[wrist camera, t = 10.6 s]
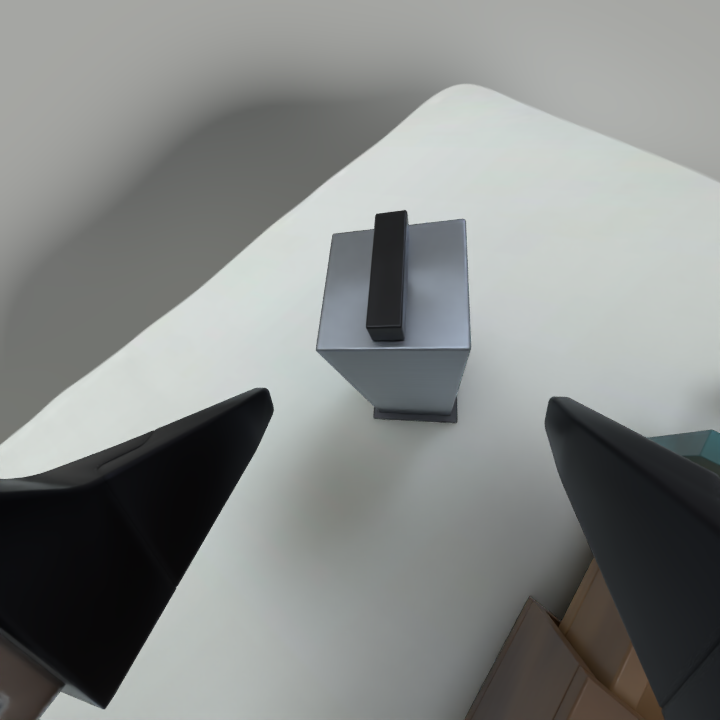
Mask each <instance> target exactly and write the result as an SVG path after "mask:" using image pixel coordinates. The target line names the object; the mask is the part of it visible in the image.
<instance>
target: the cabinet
mask: <svg viewBox="0 0 720 720" xmlns="http://www.w3.org/2000/svg"><path fill="white" fill-rule="evenodd" d="M560 623H561V620H560V619H558V618H557V617H556V616H554V615H553V614H552V613H551V612H549V611H548V610H547V609H546V608H544V607H543V606H542V605H541V604H539V603H538V602H537V601H536V600H534V599H533V598H532V597H529V598H528V600H527V602H526V604H525V606H524V608H523V610H522V612H521V613H520V615H519V617H518V619H517V621H516V623H515V625H514V627H513V629H512V631H511V632H510V634H509V636H508V638H507V640H506V642H505V644H504V646H503V648H502V649H501V651H500V653H499V655H498V657H497V659H496V661H495V663H494V665H493V667H492V668H491V670H490V672H489V674H488V676H487V678H486V680H485V682H484V684H483V686H482V687H481V689H480V691H479V693H478V695H477V697H476V699H475V701H474V703H473V704H472V706H471V708H470V710H469V712H468V714H467V716H466V718H465V720H645V719H644V718H643V717H641V716H640V715H639V714H638V713H637V712H635V711H634V710H633V709H632V708H631V707H629V706H628V705H627V704H626V703H625V702H623V701H622V700H621V699H620V698H619V697H617V696H616V695H615V694H614V693H613V692H611V691H610V690H609V689H608V688H607V687H605V686H604V685H603V684H602V683H601V682H599V681H598V680H597V678H596V677H595V676H594V674H593V673H592V672H591V670H590V669H589V668H588V666H587V665H586V664H585V662H584V661H583V660H582V658H581V657H580V656H579V655H578V653H577V652H576V651H575V649H574V648H573V647H572V645H571V644H570V643H569V641H568V640H567V639H566V637H565V636H564V635H563V633H562V632H561V631H560V629H559V628H558V627H559V625H560Z"/></svg>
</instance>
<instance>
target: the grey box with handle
mask: <svg viewBox="0 0 720 720" xmlns="http://www.w3.org/2000/svg"><path fill="white" fill-rule="evenodd" d="M470 350H471V331H470V307H469V283H468V259H467V235H466V221H465V219H457V220H448V221H439V222H431V223H422V224H414V225H409V224H408V215H407V211H406V210H403V211H395V212H387V213H380V214H376V216H375V226H374V229H370V230H362V231H353V232H345V233H336V234H333V235H332V242H331V249H330V255H329V262H328V269H327V276H326V283H325V290H324V297H323V304H322V311H321V317H320V324H319V331H318V338H317V345H316V351H317V352H318V353H319V354H320V355H321V356H322V357H323V358H324V359H325V360H326V361H327V362H328V363H329V364H330V365H331V366H332V367H333V368H335V369H336V370H337V371H338V372H339V373H340V374H341V375H342V376H343V377H344V378H345V379H346V380H347V381H348V382H349V383H350V384H351V385H352V386H353V387H354V388H355V389H356V390H358V391H359V392H360V393H361V394H362V395H363V396H364V397H365V398H366V399H367V400H368V401H369V402H370V403H371V404H372V405H373V406H374V419H389V420H407V421H425V422H444V423H457V392H458V389H459V386H460V382H461V379H462V376H463V373H464V370H465V366H466V363H467V360H468V357H469V353H470Z"/></svg>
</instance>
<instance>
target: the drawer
mask: <svg viewBox="0 0 720 720" xmlns="http://www.w3.org/2000/svg"><path fill="white" fill-rule="evenodd" d="M648 439H650V440H652V441H654V442H656V443H658V444H660V445H661V446H663V447H665V448H667V449H669V450H671V451H673V452H675V453H677V454H679V455H681V456H683V457H685V458H687V459H689V460H691V461H692V462H694V463H696V464H698V465H700V466H702V467H704V468H706V469H708V470H710V471H712V472H714V473H716V474H717V475H718V476H719V478H720V433H718V432H716V431H714V430H706V431H698V432H690V433H682V434H674V435H666V436H658V437H650V438H648ZM558 628H559V629H560V631H561V632H562V633H563V635H564V636H565V637H566V639H567V640H568V641H569V643H570V644H571V645H572V647H573V648H574V649H575V651H576V652H577V653H578V655H579V656H580V657H581V658H582V660H583V661H584V662H585V664H586V665H587V666H588V668H589V669H590V670H591V672H592V673H593V674H594V676H595V677H596V678H597V680H598V681H599V682H601V683H602V684H603V685H604V686H605V687H607V688H608V689H609V690H610V691H611V692H613V693H614V694H615V695H616V696H617V697H619V698H620V699H621V700H622V701H623V702H625V703H626V704H627V705H628V706H629V707H631V708H632V709H633V710H634V711H635V712H637V713H638V714H639V715H640V716H641V717H643V718H644V719H645V720H665V719H664V717H663V714H662V712H661V710H662V708H661V707H660V706H659V704H658V702H657V700H656V697H655V695H654V693H653V691H652V688H651V686H650V684H649V681H648V679H647V677H646V674H645V672H644V670H643V668H642V665H641V663H640V661H639V658H638V656H637V654H636V651H635V649H634V647H633V645H632V642H631V640H630V638H629V635H628V633H627V631H626V629H625V626H624V624H623V622H622V619H621V617H620V615H619V612H618V610H617V608H616V606H615V603H614V601H613V599H612V596H611V594H610V592H609V589H608V587H607V585H606V583H605V580H604V578H603V576H602V573H601V571H600V569H599V567H598V564H597V562H596V560H595V557H594V558H593V560H592V562H591V564H590V566H589V568H588V569H587V571H586V573H585V575H584V577H583V579H582V581H581V583H580V585H579V587H578V589H577V591H576V593H575V595H574V597H573V599H572V601H571V603H570V605H569V607H568V609H567V611H566V613H565V615H564V617H563V619H562V621H561V623H560V625H559V627H558Z"/></svg>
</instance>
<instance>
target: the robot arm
mask: <svg viewBox="0 0 720 720" xmlns="http://www.w3.org/2000/svg"><path fill="white" fill-rule="evenodd" d="M273 412H274V407H273V403H272V400H271V396H270V393H269V390H268V389H266V388H254V389H252V390H250V391H247V392H245V393H242V394H240V395H238V396H235V397H233V398H230V399H228V400H225V401H223V402H221V403H218V404H216V405H213V406H211V407H209V408H206V409H204V410H201V411H199V412H197V413H194V414H192V415H189V416H187V417H185V418H182V419H180V420H177V421H175V422H173V423H170V424H168V425H165V426H163V427H161V428H158V429H156V430H155V431H151V432H148V433H146V434H144V435H141V436H139V437H136V438H134V439H131V440H129V441H126V442H124V443H121V444H119V445H116V446H114V447H111V448H108V449H106V450H103V451H101V452H98V453H95V454H92V455H90V456H87V457H84V458H82V459H79V460H76V461H74V462H71V463H68V464H66V465H63V466H60V467H58V468H55V469H52V470H50V471H47V472H44V473H41V474H37V475H33V476H28V477H23V478H14V479H0V720H39V718H40V717H41V716H42V714H43V713H44V712H45V711H46V709H47V708H48V707H49V706H50V704H51V703H52V702H53V701H54V699H55V698H56V697H57V695H58V694H59V693H60V692H63V693H65V694H68V695H70V696H73V697H75V698H77V699H80V700H82V701H85V702H87V703H89V704H92V705H94V706H96V707H99V708H101V709H105V708H106V707H107V706H108V704H109V703H110V701H111V700H112V698H113V697H114V695H115V693H116V692H117V690H118V688H119V686H120V685H121V683H122V681H123V679H124V678H125V676H126V674H127V673H128V671H129V669H130V667H131V666H132V664H133V662H134V661H135V659H136V657H137V655H138V654H139V652H140V650H141V648H142V647H143V645H144V643H145V642H146V640H147V638H148V636H149V635H150V633H151V631H152V629H153V628H154V626H155V624H156V623H157V621H158V619H159V617H160V616H161V614H162V612H163V611H164V609H165V607H166V605H167V604H168V602H169V600H170V598H171V597H172V595H173V593H174V592H175V590H176V587H177V586H178V584H179V583H180V581H181V579H182V577H183V576H184V574H185V572H186V571H187V569H188V567H189V565H190V564H191V562H192V560H193V558H194V557H195V555H196V553H197V552H198V550H199V548H200V546H201V545H202V543H203V541H204V540H205V538H206V536H207V534H208V533H209V531H210V529H211V527H212V526H213V524H214V522H215V521H216V519H217V517H218V515H219V514H220V512H221V510H222V509H223V507H224V505H225V503H226V502H227V500H228V498H229V496H230V495H231V493H232V491H233V490H234V488H235V486H236V484H237V483H238V481H239V479H240V478H241V476H242V474H243V472H244V471H245V469H246V467H247V466H248V464H249V462H250V460H251V459H252V457H253V455H254V453H255V452H256V450H257V448H258V446H259V444H260V441H261V439H262V437H263V435H264V433H265V430H266V428H267V426H268V424H269V422H270V419H271V417H272V415H273ZM545 429H546V433H547V436H548V440H549V443H550V446H551V450H552V453H553V457H554V460H555V463H556V467H557V470H558V473H559V476H560V479H561V481H562V484H563V486H564V488H565V491H566V493H567V495H568V498H569V500H570V502H571V504H572V507H573V509H574V511H575V514H576V516H577V518H578V521H579V523H580V525H581V527H582V530H583V532H584V534H585V537H586V539H587V541H588V544H589V546H590V548H591V550H592V553H593V555H594V557H595V560H596V562H597V564H598V567H599V569H600V571H601V573H602V576H603V578H604V580H605V583H606V585H607V587H608V589H609V592H610V594H611V596H612V599H613V601H614V603H615V606H616V608H617V610H618V612H619V615H620V617H621V619H622V622H623V624H624V626H625V629H626V631H627V633H628V635H629V638H630V640H631V642H632V645H633V647H634V649H635V651H636V654H637V656H638V658H639V661H640V663H641V665H642V668H643V670H644V672H645V674H646V677H647V679H648V681H649V684H650V686H651V688H652V691H653V693H654V695H655V697H656V700H657V702H658V704H659V706H660V707H661V708H662V710H661V712H662V714H663V717H664V719H665V720H720V478H719V476H718V475H717V474H716V473H714V472H712V471H710V470H708V469H706V468H704V467H702V466H700V465H698V464H696V463H694V462H692V461H691V460H689V459H687V458H685V457H683V456H681V455H679V454H677V453H675V452H673V451H671V450H669V449H667V448H665V447H663V446H661V445H660V444H658V443H656V442H654V441H652V440H650V439H648V438H646V437H644V436H642V435H640V434H638V433H636V432H634V431H632V430H630V429H629V428H627V427H625V426H623V425H621V424H619V423H617V422H615V421H613V420H611V419H609V418H607V417H605V416H603V415H601V414H600V413H598V412H596V411H594V410H592V409H590V408H588V407H586V406H584V405H582V404H580V403H578V402H576V401H574V400H572V399H571V398H568V397H551V398H550V400H549V402H548V407H547V412H546V417H545Z"/></svg>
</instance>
